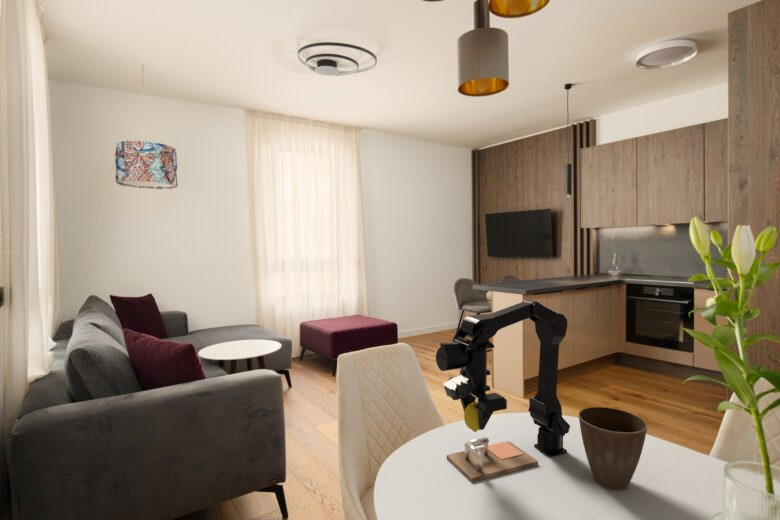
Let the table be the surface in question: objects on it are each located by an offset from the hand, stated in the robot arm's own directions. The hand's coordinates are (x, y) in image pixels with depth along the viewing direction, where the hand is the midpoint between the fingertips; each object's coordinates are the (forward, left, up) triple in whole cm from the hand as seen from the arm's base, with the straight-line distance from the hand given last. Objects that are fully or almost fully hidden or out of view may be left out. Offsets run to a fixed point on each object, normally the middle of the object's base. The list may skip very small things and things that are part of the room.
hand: (475, 424), depth 109 cm
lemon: (0, 0, -2) cm, 2 cm away
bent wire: (-3, 0, -12) cm, 12 cm away
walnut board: (-6, -1, -12) cm, 14 cm away
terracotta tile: (-12, -3, -12) cm, 17 cm away
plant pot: (-28, +18, -12) cm, 35 cm away
